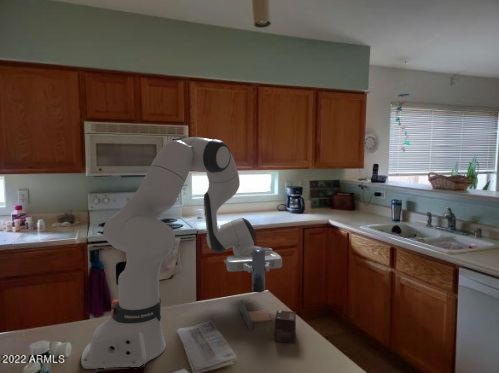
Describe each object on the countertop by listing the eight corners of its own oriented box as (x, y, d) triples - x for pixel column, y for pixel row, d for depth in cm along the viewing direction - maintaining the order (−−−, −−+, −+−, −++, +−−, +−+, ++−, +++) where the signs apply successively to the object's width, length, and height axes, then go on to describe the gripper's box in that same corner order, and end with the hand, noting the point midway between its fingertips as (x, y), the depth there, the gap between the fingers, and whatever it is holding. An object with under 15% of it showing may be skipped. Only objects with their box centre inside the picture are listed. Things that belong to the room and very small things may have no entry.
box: (294, 344, 105) (294, 320, 104) (274, 341, 106) (274, 318, 105) (295, 333, 111) (296, 311, 110) (276, 331, 112) (277, 309, 111)
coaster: (251, 322, 117) (251, 321, 117) (246, 313, 124) (246, 312, 124) (271, 320, 119) (271, 319, 119) (265, 311, 126) (265, 310, 126)
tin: (253, 293, 118) (253, 252, 117) (250, 288, 123) (250, 249, 121) (266, 291, 119) (266, 251, 118) (262, 286, 124) (263, 248, 122)
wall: (249, 329, 113) (249, 320, 112) (239, 308, 128) (239, 300, 128) (252, 329, 113) (252, 320, 113) (242, 308, 128) (242, 300, 128)
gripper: (222, 251, 130) (229, 262, 117) (275, 247, 135) (287, 258, 121) (222, 267, 131) (229, 281, 117) (275, 263, 135) (287, 276, 122)
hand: (259, 269), depth 119 cm, fingers closed on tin, 4 cm apart
